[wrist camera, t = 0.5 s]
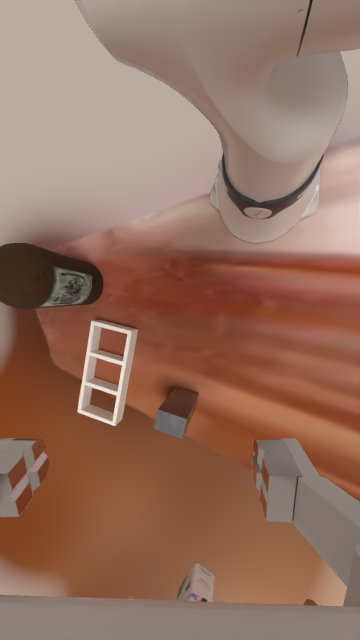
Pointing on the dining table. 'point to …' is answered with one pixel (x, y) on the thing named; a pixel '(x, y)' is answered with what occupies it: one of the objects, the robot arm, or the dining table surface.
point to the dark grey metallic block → (176, 412)
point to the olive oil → (45, 278)
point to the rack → (100, 384)
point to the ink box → (197, 585)
